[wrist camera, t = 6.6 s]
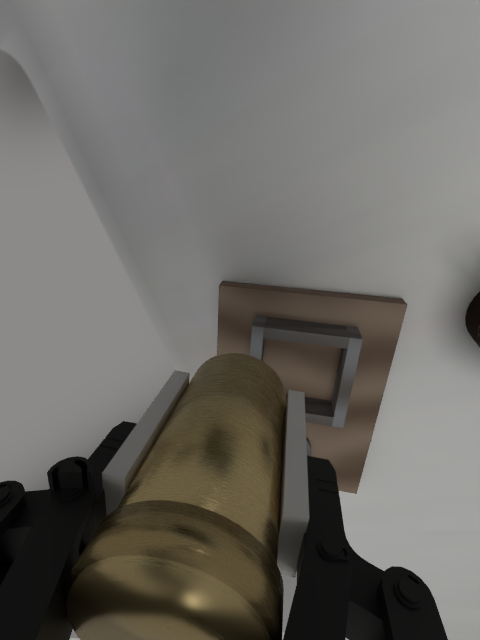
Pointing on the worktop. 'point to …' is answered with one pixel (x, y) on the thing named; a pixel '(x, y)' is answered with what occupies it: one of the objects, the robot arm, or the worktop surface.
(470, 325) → the coffee mug
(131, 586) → the gold tall rounded piece
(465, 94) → the worktop surface
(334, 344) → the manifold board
